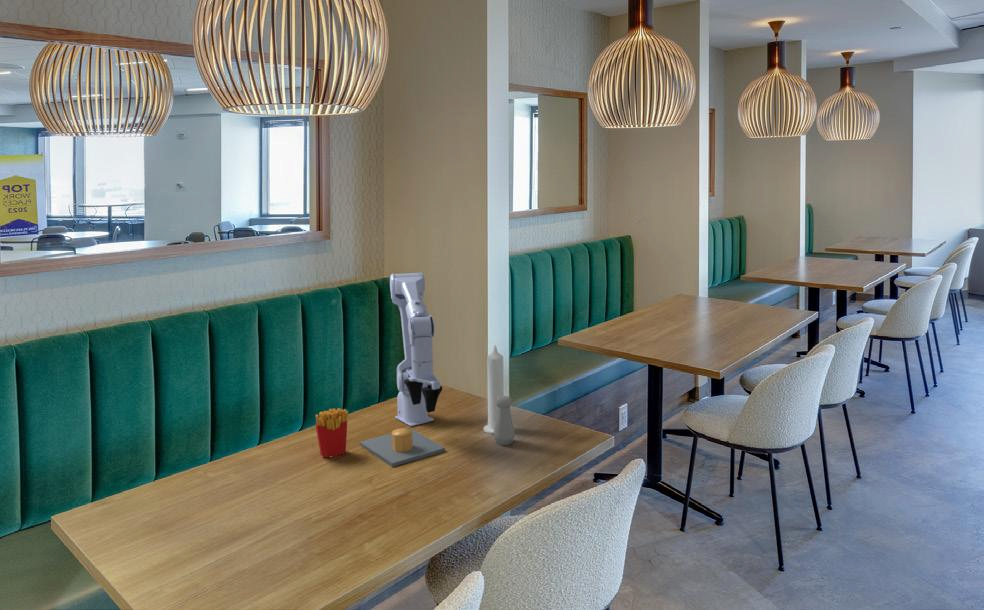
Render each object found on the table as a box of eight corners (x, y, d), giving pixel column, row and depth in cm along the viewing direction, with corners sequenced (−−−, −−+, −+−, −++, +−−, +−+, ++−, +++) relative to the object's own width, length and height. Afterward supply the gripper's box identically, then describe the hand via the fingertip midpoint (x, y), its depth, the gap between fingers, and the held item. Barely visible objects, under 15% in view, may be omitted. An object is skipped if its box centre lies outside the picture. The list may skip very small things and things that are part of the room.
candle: (479, 427, 214) (478, 343, 209) (501, 423, 217) (501, 340, 212) (489, 436, 208) (488, 349, 203) (512, 431, 211) (512, 346, 205)
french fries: (320, 459, 193) (317, 415, 191) (316, 454, 196) (313, 411, 194) (351, 453, 197) (349, 410, 194) (347, 448, 200) (345, 405, 198)
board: (359, 445, 202) (359, 441, 202) (410, 431, 211) (410, 428, 211) (392, 466, 188) (392, 463, 188) (445, 451, 197) (445, 447, 197)
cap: (389, 447, 198) (388, 431, 197) (406, 442, 201) (405, 426, 200) (398, 453, 194) (398, 437, 193) (415, 448, 197) (415, 432, 196)
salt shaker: (514, 446, 200) (514, 400, 197) (493, 446, 200) (493, 400, 197) (514, 438, 206) (514, 393, 203) (493, 438, 206) (493, 393, 203)
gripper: (396, 356, 204) (397, 403, 207) (423, 368, 193) (424, 418, 196) (418, 352, 208) (419, 398, 211) (446, 364, 197) (447, 412, 200)
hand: (423, 407), depth 204 cm, fingers open, 7 cm apart
